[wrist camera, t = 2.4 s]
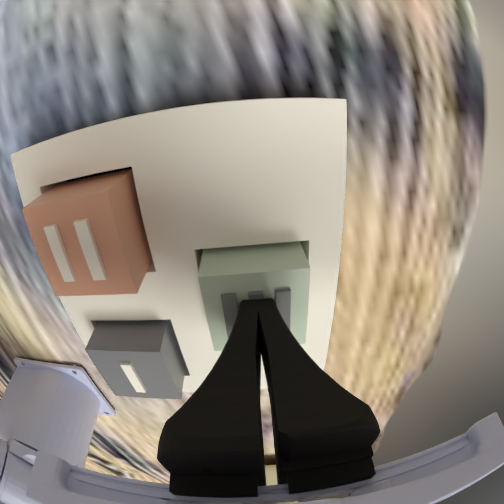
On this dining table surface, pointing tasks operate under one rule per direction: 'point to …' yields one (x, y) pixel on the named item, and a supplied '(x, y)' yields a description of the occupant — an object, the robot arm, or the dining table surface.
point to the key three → (254, 285)
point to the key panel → (211, 204)
